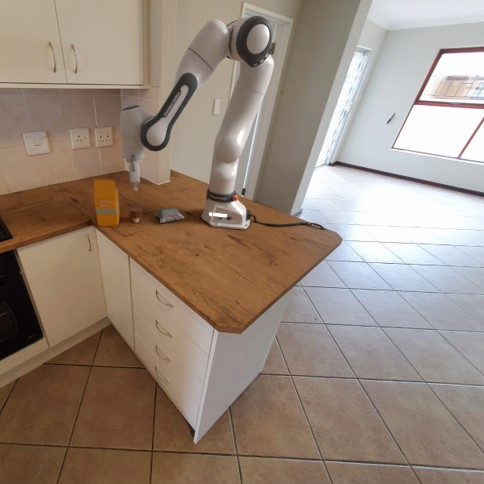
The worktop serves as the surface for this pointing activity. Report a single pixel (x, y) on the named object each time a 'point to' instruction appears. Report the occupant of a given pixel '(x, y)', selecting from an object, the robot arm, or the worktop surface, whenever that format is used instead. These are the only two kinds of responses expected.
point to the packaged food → (169, 215)
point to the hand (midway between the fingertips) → (135, 186)
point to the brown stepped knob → (135, 214)
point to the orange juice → (106, 202)
